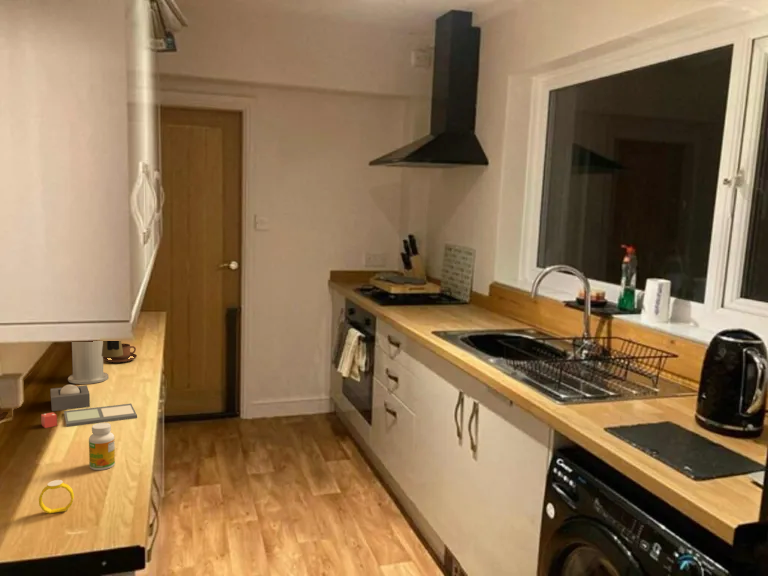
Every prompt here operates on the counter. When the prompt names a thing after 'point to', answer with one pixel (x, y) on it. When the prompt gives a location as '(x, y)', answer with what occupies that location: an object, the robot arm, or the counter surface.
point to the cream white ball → (69, 389)
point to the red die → (49, 420)
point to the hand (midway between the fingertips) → (112, 347)
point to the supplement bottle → (101, 447)
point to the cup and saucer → (125, 355)
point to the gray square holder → (70, 399)
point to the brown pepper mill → (111, 352)
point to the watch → (55, 485)
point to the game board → (99, 414)
